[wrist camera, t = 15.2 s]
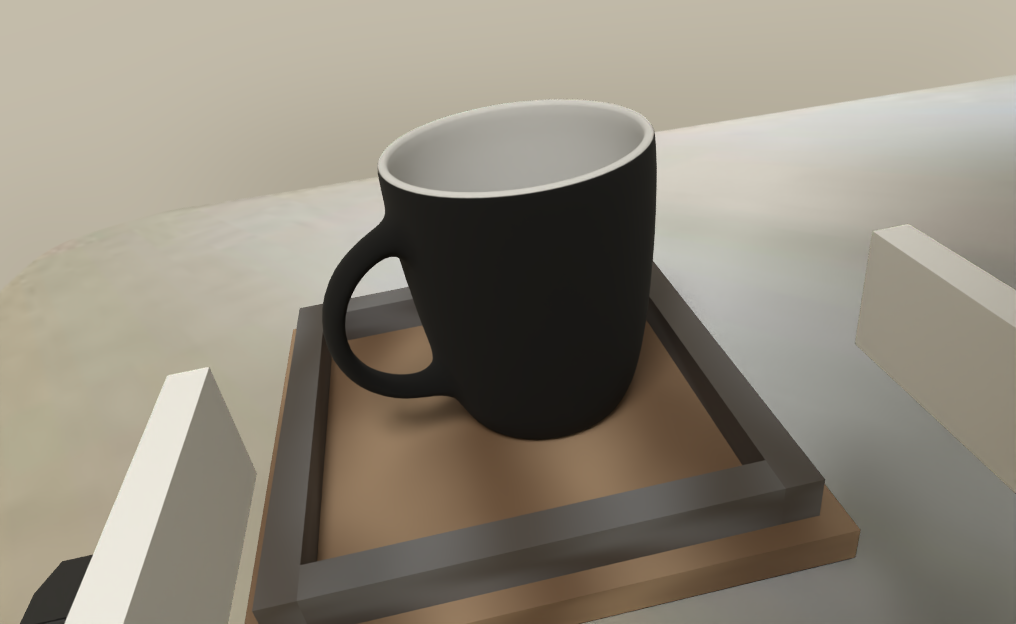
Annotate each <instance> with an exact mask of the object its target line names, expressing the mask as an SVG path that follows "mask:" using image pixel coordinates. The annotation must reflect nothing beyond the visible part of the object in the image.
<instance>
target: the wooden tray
mask: <svg viewBox="0 0 1016 624" xmlns="http://www.w3.org/2000/svg"><path fill="white" fill-rule="evenodd" d="M322 308H323V304H320V305H315V306H309V307H304V308H300V310H299V317H298V323H297V329H293V334H292V340H291V346H290V352H289V359H288V365H287V371H286V377H285V383H284V389H283V395H282V401H281V407H280V413H279V419H278V425H277V431H276V437H275V443H274V449H273V455H272V461H271V467H270V473H269V479H268V485H267V491H266V498H265V504H264V510H263V516H262V522H261V528H260V534H259V540H258V546H257V552H256V558H255V564H254V570H253V576H252V582H251V588H250V594H249V600H248V606H247V612H246V618H245V624H580V623H584V622H588V621H592V620H596V619H600V618H605V617H609V616H613V615H617V614H621V613H625V612H630V611H634V610H638V609H642V608H646V607H650V606H655V605H659V604H663V603H667V602H671V601H675V600H680V599H684V598H688V597H692V596H696V595H700V594H704V593H709V592H713V591H717V590H721V589H725V588H729V587H734V586H738V585H742V584H746V583H750V582H754V581H759V580H763V579H767V578H771V577H775V576H779V575H784V574H788V573H792V572H796V571H800V570H804V569H808V568H813V567H817V566H821V565H825V564H829V563H833V562H838V561H842V560H846V559H850V558H854V557H855V555H856V550H857V545H858V540H859V535H860V529H859V527H858V526H857V525H856V524H855V522H854V521H853V520H852V518H851V517H850V516H849V515H848V513H847V512H846V511H845V509H844V508H843V507H842V506H841V504H840V503H839V502H838V501H837V499H836V498H835V497H834V495H833V494H832V493H831V492H830V490H829V489H828V488H827V486H826V485H825V484H824V483H825V479H824V478H823V476H822V475H821V474H820V472H819V471H818V470H817V469H816V467H815V466H814V465H813V464H812V462H811V461H810V460H809V459H808V457H807V456H806V455H805V453H804V452H803V451H802V450H801V448H800V447H799V446H798V445H797V443H796V442H795V441H794V439H793V438H792V437H791V436H790V434H789V433H788V432H787V431H786V429H785V428H784V427H783V425H782V424H781V423H780V422H779V420H778V419H777V418H776V417H775V415H774V414H773V413H772V412H771V410H770V409H769V408H768V406H767V405H766V404H765V403H764V401H763V400H762V399H761V398H760V396H759V395H758V394H757V392H756V391H755V390H754V389H753V387H752V386H751V385H750V384H749V382H748V381H747V380H746V378H745V377H744V376H743V375H742V373H741V372H740V371H739V370H738V368H737V367H736V366H735V365H734V363H733V362H732V361H731V359H730V358H729V357H728V356H727V354H726V353H725V352H724V351H723V349H722V348H721V347H720V345H719V344H718V343H717V342H716V340H715V339H714V338H713V337H712V335H711V334H710V333H709V331H708V330H707V329H706V328H705V326H704V325H703V324H702V323H701V321H700V320H699V319H698V318H697V316H696V315H695V314H694V312H693V311H692V310H691V309H690V307H689V306H688V305H687V304H686V302H685V301H684V300H683V298H682V297H681V296H680V295H679V293H678V292H677V291H676V290H675V288H674V287H673V286H672V284H671V283H670V282H669V281H668V279H667V278H666V277H665V276H664V274H663V273H662V272H661V271H660V269H659V268H658V267H657V265H656V264H655V263H654V262H653V263H652V274H651V285H650V294H649V302H648V310H647V317H646V323H645V330H644V336H643V341H642V347H641V351H640V356H639V360H638V363H637V367H636V370H635V373H634V376H633V379H632V382H631V384H630V386H629V388H628V390H627V392H626V393H625V395H624V397H623V399H622V400H621V401H620V403H619V404H618V405H617V407H616V408H615V409H614V410H613V411H612V412H611V413H610V414H609V415H608V416H607V417H605V418H604V419H603V420H601V421H600V422H598V423H597V424H595V425H593V426H591V427H589V428H588V429H585V430H583V431H581V432H578V433H575V434H572V435H568V436H564V437H559V438H553V439H542V440H530V439H520V438H514V437H510V436H506V435H503V434H500V433H497V432H495V431H493V430H491V429H489V428H487V427H485V426H484V425H482V424H481V423H479V422H478V421H477V420H476V419H475V418H473V417H472V416H471V415H470V414H469V413H468V411H467V410H466V409H465V408H464V407H463V406H462V405H461V404H460V402H459V401H457V400H456V399H455V398H453V397H449V396H432V397H423V398H411V399H402V398H392V397H386V396H382V395H379V394H376V393H373V392H370V391H368V390H366V389H364V388H362V387H360V386H359V385H357V384H356V383H354V382H353V381H351V380H350V379H349V378H348V377H347V376H346V375H345V374H344V373H343V372H342V371H341V370H340V368H339V367H338V365H337V364H336V363H335V361H334V360H333V358H332V356H331V354H330V352H329V350H328V347H327V344H326V340H325V337H324V333H323V325H322ZM345 329H346V336H347V340H348V343H349V345H350V348H351V350H352V351H353V353H354V354H355V355H356V356H357V357H358V359H359V360H361V361H362V362H363V363H364V364H366V365H367V366H369V367H371V368H373V369H376V370H378V371H381V372H386V373H391V374H411V373H416V372H419V371H422V370H424V369H425V368H427V367H428V366H429V365H430V364H431V362H432V359H433V356H432V350H431V347H430V344H429V341H428V339H427V336H426V334H425V331H424V328H423V326H422V323H421V320H420V318H419V315H418V312H417V309H416V307H415V304H414V301H413V298H412V295H411V292H410V289H409V287H406V288H401V289H396V290H391V291H386V292H381V293H376V294H371V295H366V296H360V297H355V298H350V301H349V304H348V308H347V313H346V322H345Z"/></svg>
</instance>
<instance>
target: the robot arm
mask: <svg viewBox="0 0 1016 624" xmlns="http://www.w3.org/2000/svg"><path fill="white" fill-rule="evenodd" d="M855 344H856V345H857V346H858V347H859V348H860V349H861V350H862V351H863V352H864V353H865V354H866V355H867V356H869V357H870V358H871V359H872V360H873V361H874V362H875V363H876V364H877V365H878V366H879V367H880V368H881V369H883V370H884V371H885V372H886V373H887V374H888V375H889V376H890V377H891V378H892V379H893V380H894V381H895V382H896V383H898V384H899V385H900V386H901V387H902V388H903V389H904V390H905V391H906V392H907V393H908V394H909V395H910V396H911V397H913V398H914V399H915V400H916V401H917V402H918V403H919V404H920V405H921V406H922V407H923V408H924V409H925V410H926V411H928V412H929V413H930V414H931V415H932V416H933V417H934V418H935V419H936V420H937V421H938V422H939V423H940V424H941V425H943V426H944V427H945V428H946V429H947V430H948V431H949V432H950V433H951V434H952V435H953V436H954V437H955V438H956V439H958V440H959V441H960V442H961V443H962V444H963V445H964V446H965V447H966V448H967V449H968V450H969V451H970V452H972V453H973V454H974V455H975V456H976V457H977V458H978V459H979V460H980V461H981V462H982V463H983V464H984V465H985V466H987V467H988V468H989V469H990V470H991V471H992V472H993V473H994V474H995V475H996V476H997V477H998V478H999V479H1000V480H1002V481H1003V482H1004V483H1005V484H1006V485H1007V486H1008V487H1009V488H1010V489H1011V490H1012V491H1013V492H1014V493H1015V494H1016V290H1015V289H1013V288H1012V287H1010V286H1008V285H1007V284H1005V283H1004V282H1002V281H1000V280H999V279H997V278H995V277H994V276H992V275H991V274H989V273H987V272H986V271H984V270H982V269H981V268H979V267H978V266H976V265H974V264H973V263H971V262H970V261H968V260H966V259H965V258H963V257H961V256H960V255H958V254H957V253H955V252H953V251H952V250H950V249H948V248H947V247H945V246H944V245H942V244H940V243H939V242H937V241H936V240H934V239H932V238H931V237H929V236H927V235H926V234H924V233H923V232H921V231H919V230H918V229H916V228H915V227H913V226H911V225H910V224H904V225H900V226H895V227H890V228H885V229H880V230H875V231H872V237H871V243H870V250H869V256H868V263H867V269H866V275H865V282H864V288H863V295H862V301H861V308H860V314H859V320H858V327H857V333H856V340H855ZM256 475H257V473H256V471H255V468H254V466H253V464H252V462H251V459H250V457H249V455H248V453H247V450H246V448H245V446H244V444H243V441H242V439H241V437H240V435H239V433H238V430H237V428H236V426H235V424H234V421H233V419H232V417H231V415H230V412H229V410H228V408H227V406H226V403H225V401H224V399H223V397H222V395H221V392H220V390H219V388H218V386H217V383H216V381H215V379H214V377H213V374H212V372H211V370H210V368H209V367H206V368H201V369H196V370H192V371H187V372H182V373H177V374H172V375H167V378H166V380H165V383H164V385H163V387H162V390H161V392H160V395H159V397H158V399H157V402H156V404H155V407H154V409H153V411H152V414H151V416H150V419H149V421H148V424H147V426H146V428H145V431H144V433H143V436H142V438H141V440H140V443H139V445H138V448H137V450H136V452H135V455H134V457H133V460H132V462H131V465H130V467H129V469H128V472H127V474H126V477H125V479H124V481H123V484H122V486H121V489H120V491H119V493H118V496H117V498H116V501H115V503H114V506H113V508H112V510H111V513H110V515H109V518H108V520H107V522H106V525H105V527H104V530H103V532H102V534H101V537H100V539H99V542H98V544H97V547H96V549H95V551H94V554H93V555H89V556H85V557H80V558H76V559H71V560H67V561H62V562H61V563H60V565H59V566H58V567H57V568H56V569H55V570H54V572H53V573H52V574H51V575H50V576H49V577H48V578H47V580H46V581H45V582H44V583H43V584H42V585H41V587H40V588H39V589H38V590H37V591H36V592H35V593H34V595H33V597H32V599H31V602H30V604H29V606H28V608H27V610H26V612H25V614H24V616H23V618H22V620H21V623H20V624H228V621H229V616H230V610H231V605H232V600H233V595H234V590H235V584H236V579H237V574H238V569H239V563H240V558H241V553H242V548H243V543H244V537H245V532H246V527H247V522H248V517H249V511H250V506H251V501H252V496H253V490H254V485H255V480H256Z"/></svg>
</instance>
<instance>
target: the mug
mask: <svg viewBox="0 0 1016 624" xmlns="http://www.w3.org/2000/svg"><path fill="white" fill-rule="evenodd" d="M378 176H379V182H380V187H381V191H382V196H383V200H384V205H385V216H384V218H383V220H382V221H381V222H380V224H379V225H378V226H376V227H375V228H374V229H373V230H372V231H371V232H369V233H368V234H367V235H366V236H365V237H363V238H362V239H361V240H360V241H359V242H358V243H357V244H356V245H355V246H354V247H353V248H352V249H351V250H350V251H349V252H348V253H347V254H346V255H345V257H344V258H343V259H342V260H341V262H340V263H339V265H338V266H337V268H336V269H335V271H334V273H333V275H332V277H331V279H330V281H329V284H328V287H327V290H326V293H325V296H324V302H323V308H322V325H323V333H324V337H325V340H326V344H327V347H328V350H329V352H330V354H331V356H332V358H333V360H334V361H335V363H336V364H337V365H338V367H339V368H340V370H341V371H342V372H343V373H344V374H345V375H346V376H347V377H348V378H349V379H350V380H351V381H353V382H354V383H356V384H357V385H359V386H360V387H362V388H364V389H366V390H368V391H370V392H373V393H376V394H379V395H382V396H386V397H392V398H402V399H411V398H423V397H432V396H449V397H453V398H455V399H456V400H457V401H459V402H460V404H461V405H462V406H463V407H464V408H465V409H466V410H467V411H468V413H469V414H470V415H471V416H472V417H473V418H475V419H476V420H477V421H478V422H479V423H481V424H482V425H484V426H485V427H487V428H489V429H491V430H493V431H495V432H497V433H500V434H503V435H506V436H510V437H514V438H520V439H530V440H542V439H553V438H559V437H564V436H568V435H572V434H575V433H578V432H581V431H583V430H585V429H588V428H589V427H591V426H593V425H595V424H597V423H598V422H600V421H601V420H603V419H604V418H605V417H607V416H608V415H609V414H610V413H611V412H612V411H613V410H614V409H615V408H616V407H617V405H618V404H619V403H620V401H621V400H622V399H623V397H624V395H625V393H626V392H627V390H628V388H629V386H630V384H631V382H632V379H633V376H634V373H635V370H636V367H637V363H638V360H639V356H640V351H641V347H642V341H643V336H644V330H645V323H646V317H647V310H648V302H649V294H650V285H651V274H652V263H653V250H654V235H655V215H656V182H657V163H656V142H655V133H654V129H653V126H652V124H651V123H650V122H649V121H648V120H647V119H646V118H645V117H644V116H643V115H641V114H640V113H638V112H636V111H634V110H632V109H629V108H627V107H623V106H620V105H616V104H611V103H605V102H599V101H591V100H576V99H551V100H549V99H548V100H532V101H522V102H513V103H506V104H499V105H493V106H488V107H483V108H478V109H473V110H469V111H465V112H461V113H457V114H454V115H450V116H447V117H444V118H441V119H438V120H435V121H432V122H430V123H427V124H425V125H422V126H420V127H418V128H416V129H414V130H412V131H410V132H408V133H406V134H404V135H403V136H401V137H399V138H398V139H396V140H395V141H394V142H392V143H391V144H390V145H389V146H388V147H387V148H386V149H385V150H384V152H383V153H382V155H381V157H380V158H379V161H378ZM388 257H398V258H399V259H400V262H401V265H402V268H403V271H404V274H405V277H406V280H407V283H408V286H409V289H410V292H411V295H412V298H413V301H414V304H415V307H416V309H417V312H418V315H419V318H420V320H421V323H422V326H423V328H424V331H425V334H426V336H427V339H428V341H429V344H430V347H431V350H432V356H433V359H432V362H431V364H430V365H429V366H428V367H427V368H425V369H424V370H422V371H419V372H416V373H411V374H391V373H386V372H381V371H378V370H376V369H373V368H371V367H369V366H367V365H366V364H364V363H363V362H362V361H361V360H359V359H358V357H357V356H356V355H355V354H354V353H353V351H352V350H351V348H350V345H349V343H348V340H347V336H346V329H345V322H346V313H347V308H348V304H349V301H350V298H351V296H352V293H353V292H354V290H355V288H356V286H357V284H358V283H359V281H360V280H361V279H362V277H363V276H364V275H365V274H366V273H367V272H368V271H369V270H370V269H371V268H372V267H373V266H374V265H376V264H377V263H378V262H380V261H381V260H383V259H385V258H388Z"/></svg>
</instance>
